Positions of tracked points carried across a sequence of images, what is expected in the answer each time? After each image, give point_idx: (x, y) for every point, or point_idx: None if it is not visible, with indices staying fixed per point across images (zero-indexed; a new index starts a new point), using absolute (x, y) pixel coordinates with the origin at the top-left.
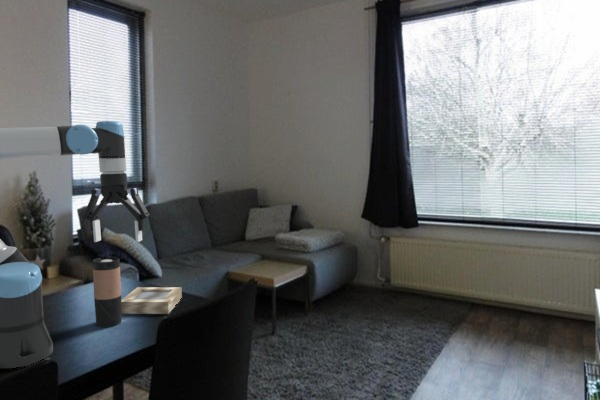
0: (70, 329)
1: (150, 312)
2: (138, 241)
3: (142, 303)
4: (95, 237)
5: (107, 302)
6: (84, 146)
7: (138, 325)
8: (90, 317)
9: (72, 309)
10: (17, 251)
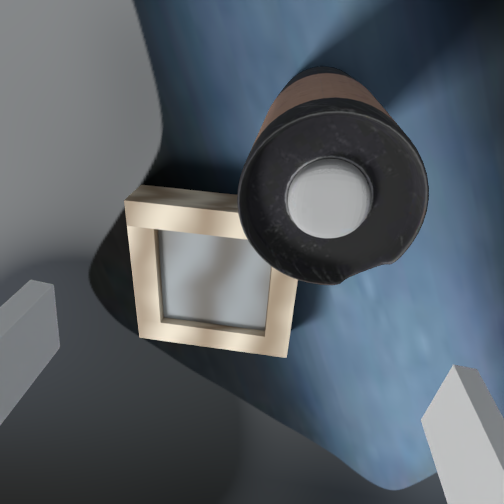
0: (453, 53)
1: (199, 192)
2: (28, 286)
3: (219, 207)
4: (476, 402)
5: (307, 75)
6: None
7: (204, 80)
8: None
9: (485, 260)
10: None
